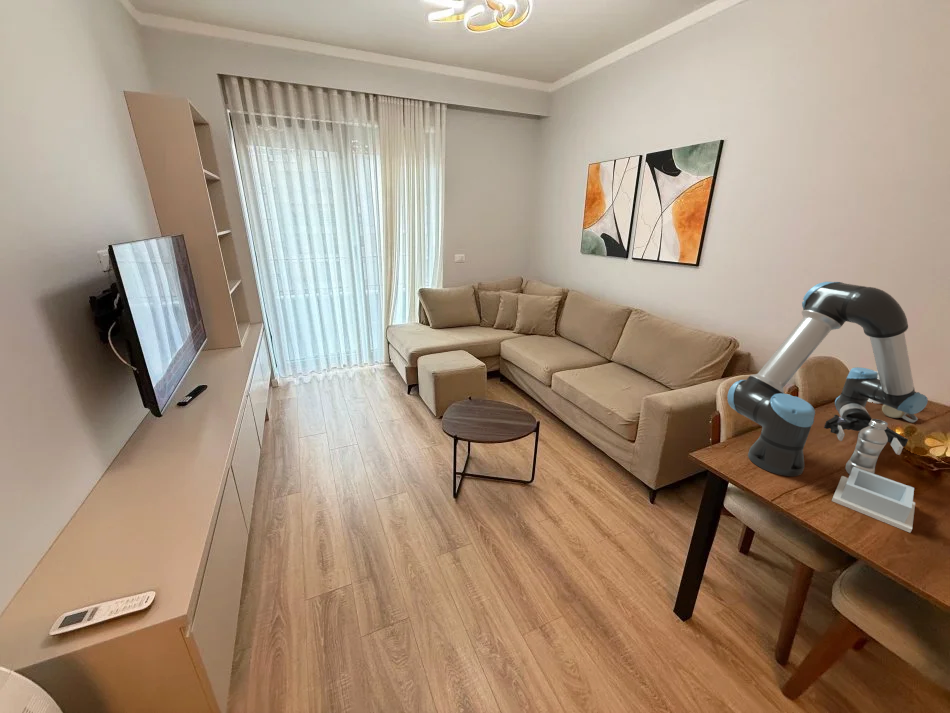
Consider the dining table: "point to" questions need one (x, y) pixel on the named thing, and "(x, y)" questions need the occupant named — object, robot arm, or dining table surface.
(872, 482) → the box
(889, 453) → the dining table surface
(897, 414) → the ceramic mug
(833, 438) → the dining table surface
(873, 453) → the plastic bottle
